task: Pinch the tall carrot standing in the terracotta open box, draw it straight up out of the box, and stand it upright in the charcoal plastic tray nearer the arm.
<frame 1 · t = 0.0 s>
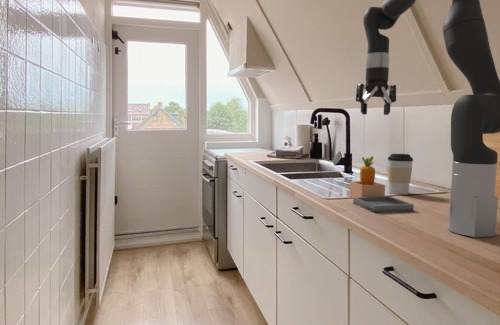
hand: (375, 114, 135), 29 cm above the worktop, tool pointing down, fingers open, 8 cm apart
coffee cup: (398, 193, 146), on the worktop
carrot: (366, 199, 134), resting in terracotta open box
charcoal tray: (382, 207, 121), on the worktop
terracotta open box: (366, 198, 134), on the worktop
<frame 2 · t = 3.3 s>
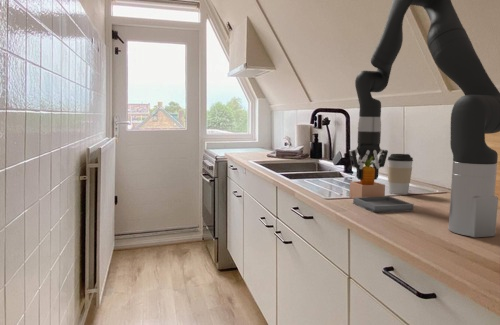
hand: (367, 179, 133), 7 cm above the worktop, tool pointing down, fingers closed on carrot, 5 cm apart
carrot: (366, 199, 134), resting in terracotta open box, touching gripper
everything else where it was.
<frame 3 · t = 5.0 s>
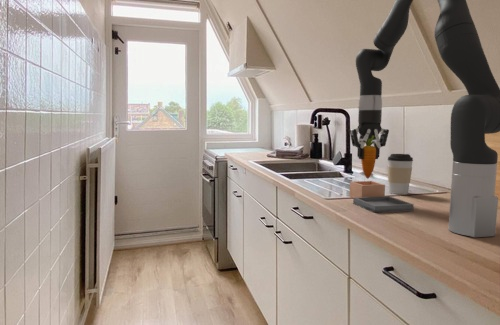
hand: (368, 158, 132), 14 cm above the worktop, tool pointing down, fingers closed on carrot, 5 cm apart
carrot: (367, 179, 133), point 7 cm above the worktop, touching gripper
everything else where it was.
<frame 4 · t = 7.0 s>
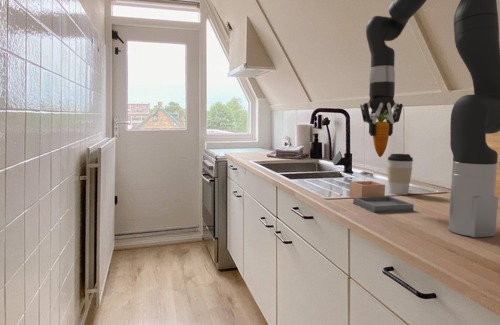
hand: (380, 135, 123), 22 cm above the worktop, tool pointing down, fingers closed on carrot, 5 cm apart
carrot: (380, 157, 123), point 15 cm above the worktop, touching gripper
everything else where it was.
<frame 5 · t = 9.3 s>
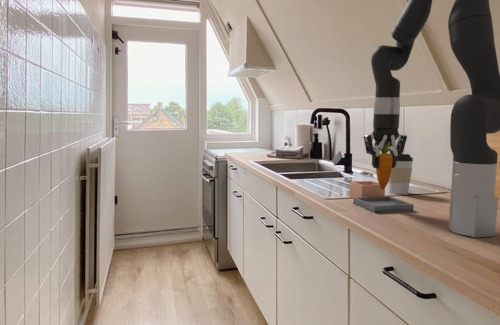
hand: (383, 167, 120), 13 cm above the worktop, tool pointing down, fingers closed on carrot, 5 cm apart
carrot: (382, 189, 120), point 5 cm above the worktop, touching gripper
everything else where it was.
when the fingers open (9 cm above the worktop, at t = 10.9 s): carrot drops 1 cm, resting on charcoal tray.
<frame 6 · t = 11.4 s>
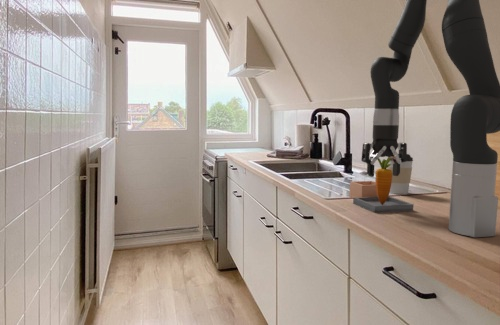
hand: (383, 176, 120), 10 cm above the worktop, tool pointing down, fingers open, 8 cm apart
carrot: (382, 205, 121), point 1 cm above the worktop, touching charcoal tray
everything else where it was.
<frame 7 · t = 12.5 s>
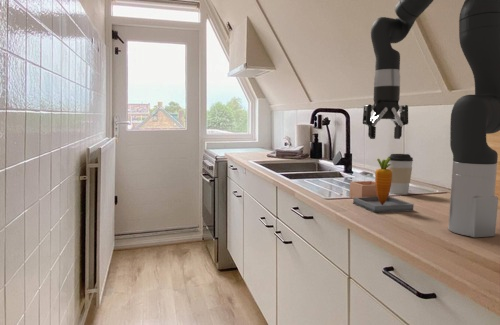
hand: (384, 138, 119), 22 cm above the worktop, tool pointing down, fingers open, 8 cm apart
nothing on the worktop moved.
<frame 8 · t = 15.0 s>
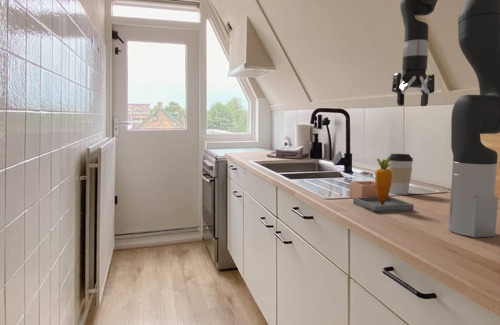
hand: (412, 105, 127), 32 cm above the worktop, tool pointing down, fingers open, 8 cm apart
nothing on the worktop moved.
at the end: carrot inside the target area on the charcoal tray (0.1 cm from its centre), point 0.6 cm above the charcoal tray's base; carrot tilted 1°; the gripper is holding nothing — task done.
